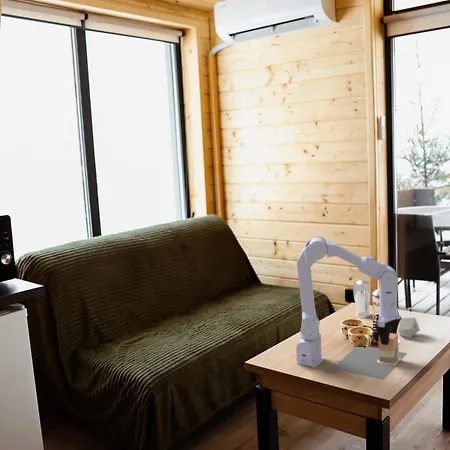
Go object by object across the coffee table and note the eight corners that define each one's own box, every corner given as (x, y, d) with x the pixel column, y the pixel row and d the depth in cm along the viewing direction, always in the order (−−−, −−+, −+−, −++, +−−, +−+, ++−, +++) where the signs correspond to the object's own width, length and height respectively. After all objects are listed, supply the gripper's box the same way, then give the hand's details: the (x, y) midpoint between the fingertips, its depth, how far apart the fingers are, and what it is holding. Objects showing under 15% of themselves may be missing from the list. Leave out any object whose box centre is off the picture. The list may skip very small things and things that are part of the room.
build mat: (383, 380, 178) (383, 379, 178) (331, 370, 188) (331, 368, 188) (407, 354, 197) (407, 352, 197) (358, 346, 207) (358, 344, 207)
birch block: (393, 364, 188) (393, 351, 188) (379, 361, 191) (379, 349, 190) (398, 359, 192) (398, 346, 192) (384, 356, 195) (384, 344, 194)
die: (397, 341, 211) (413, 324, 207) (386, 325, 217) (401, 307, 213) (412, 344, 215) (428, 327, 211) (401, 328, 221) (416, 311, 217)
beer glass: (360, 312, 245) (359, 279, 243) (373, 315, 240) (373, 281, 238) (350, 316, 241) (349, 282, 239) (364, 319, 236) (363, 285, 233)
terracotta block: (393, 351, 188) (393, 338, 187) (378, 349, 191) (378, 336, 190) (398, 346, 192) (398, 334, 191) (383, 344, 195) (383, 331, 194)
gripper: (392, 310, 180) (393, 349, 183) (406, 298, 192) (406, 335, 194) (371, 307, 184) (372, 346, 187) (386, 295, 196) (387, 332, 198)
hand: (388, 340), depth 191 cm, fingers open, 7 cm apart
